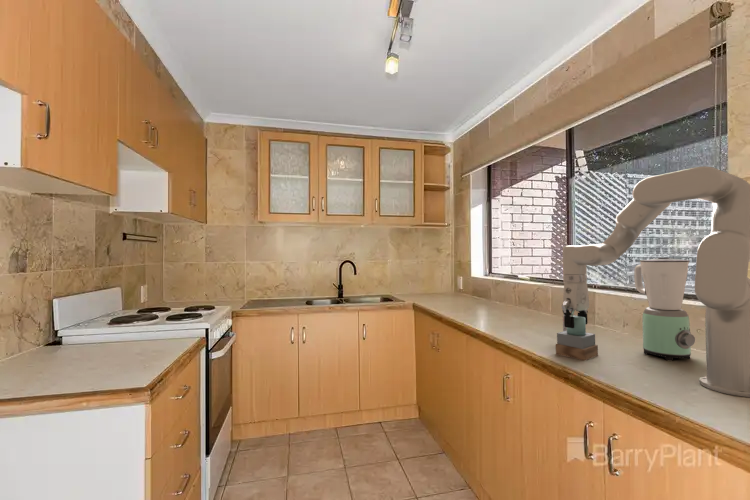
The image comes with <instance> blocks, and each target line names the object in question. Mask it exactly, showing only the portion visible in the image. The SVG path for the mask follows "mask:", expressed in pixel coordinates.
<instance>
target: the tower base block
mask: <svg viewBox="0 0 750 500" xmlns="http://www.w3.org/2000/svg"><path fill="white" fill-rule="evenodd" d="M598 348H599V347H598V344H595V345H594V346H591V347H588V348H585V349H579V348H574V347H570V346H565V345H560V344H557V343H555V355H557V356H558V355H559V356H562V357H568V358H572V359H576V360H581V361H587V360H590V359H592V358H595V357H598V356H599V349H598Z"/></svg>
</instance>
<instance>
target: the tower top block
mask: <svg viewBox="0 0 750 500" xmlns="http://www.w3.org/2000/svg"><path fill="white" fill-rule="evenodd" d="M556 342H557V343H556V344H560V345H565V346H570V347H574V348H579V349H585V348H588V347H591V346H594V345H596V334H595V333H592V332H586V335H571V334H568V333H567V331H563V330H562V331H560V332H556Z"/></svg>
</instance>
